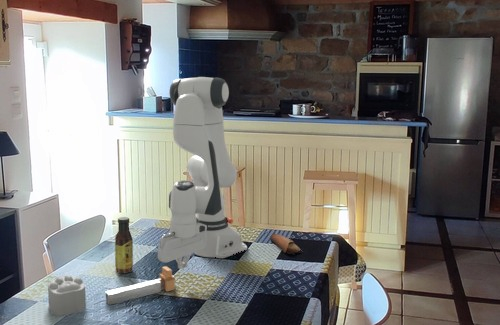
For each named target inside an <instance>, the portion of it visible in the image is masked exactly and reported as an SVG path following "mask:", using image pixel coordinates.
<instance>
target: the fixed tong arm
mask: <svg viewBox="0 0 500 325" xmlns="http://www.w3.org/2000/svg"><path fill="white" fill-rule="evenodd" d="M172 276H174V277H175V275H173V274H172ZM175 278H176V277H175ZM156 281H160V282H161V291H162V290H165V280H164V279H163V278H160V279H159V278H156V279H152V280H148V281H143V282H140V283H136V284H132V285H127V286H123V287H119V288H114V289H110V290H107V291H105V303H106V304H107V305H109V304H108V294H107V293H111V292H115V291H119V290H123V289H127V288H132V287H136V286H140V285H144V284H148V283H152V282H156Z"/></svg>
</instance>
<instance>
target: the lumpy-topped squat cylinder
mask: <svg viewBox="0 0 500 325" xmlns="http://www.w3.org/2000/svg"><path fill="white" fill-rule="evenodd" d="M47 291H48V292H47V295H48V308H49V311H50V312H51V314H52V315H54V316H56V317H63V316H67V315H68V316H69V315H72V314H77V313H81V312H83V311H85V310H86V308H87V303H86V302H87V301H86V300H87V299H86V297H87V296H86V285H85V283H84V281H83V279H82V277H79V276H77V277H74V276H72V275H70V274H67V275H64V276H58V277H56V278H55V279H53V280H51V281H50V282H49V283H48V285H47Z"/></svg>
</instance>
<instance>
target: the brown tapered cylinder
mask: <svg viewBox="0 0 500 325" xmlns="http://www.w3.org/2000/svg"><path fill="white" fill-rule="evenodd" d="M269 238H270V239H269V240H270V242H272V243H274V245H276V246H277V247H278V248H279V249H280V250H281V251H282V252H283V253H284V254H285V253H293V252H298V251H300V250H301V248H300V247H299V246H298V245H297V244H296V243H295V242H294V240H292V239H290V238H288V237H287V236H284V235H282V234H279V233H278V234H277V233H272V234H271V236H270V237H269ZM301 251H302V250H301Z"/></svg>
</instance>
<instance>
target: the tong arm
mask: <svg viewBox="0 0 500 325" xmlns="http://www.w3.org/2000/svg"><path fill="white" fill-rule="evenodd" d="M161 292H162V290H161V282H160V281H156V282H152V283H148V284H144V285H140V286H136V287H132V288H127V289H123V290H119V291H115V292H111V293H107V294H108V304H107V305H108V306H111V305H115V304H118V303H122V302H127V301H131V300H134V299H138V298H143V297H145V296H150V295H153V294H154V295H155V294H157V293H161Z"/></svg>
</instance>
